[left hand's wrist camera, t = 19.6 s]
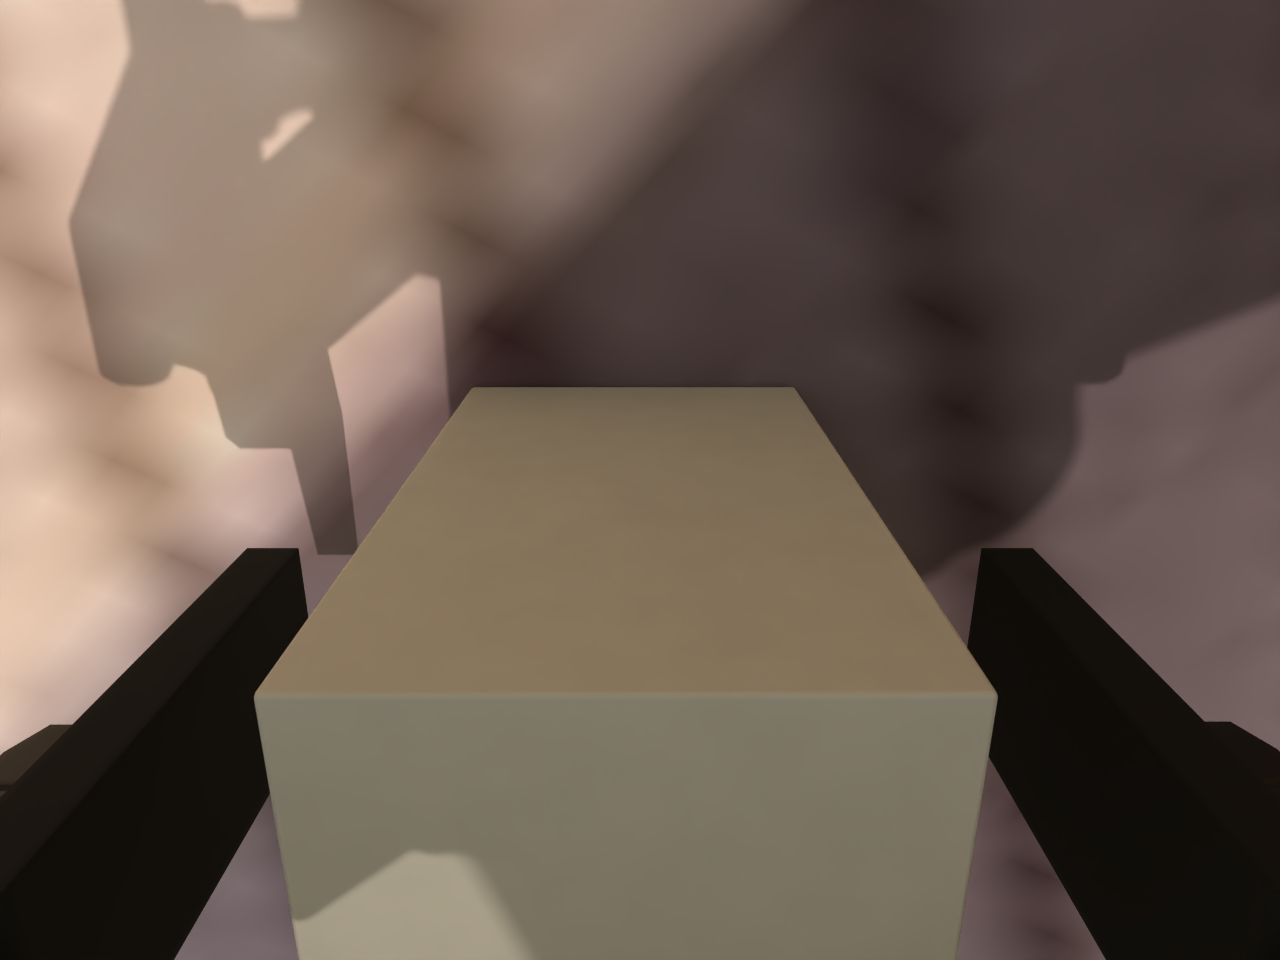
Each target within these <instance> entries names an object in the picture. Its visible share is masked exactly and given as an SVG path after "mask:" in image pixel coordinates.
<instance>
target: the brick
mask: <svg viewBox="0 0 1280 960" xmlns="http://www.w3.org/2000/svg"><path fill="white" fill-rule="evenodd" d="M997 700H998V696H997V692H996V691H995V689H994V688H993V686H992V685H991V683H990V682H989V680H988V679H987V677H986V676H985V674H984V673H983V671H982V670H981V668H980V667H979V665H978V664H977V662H976V661H975V659H974V658H973V656H972V655H971V653H970V652H969V650H968V649H967V647H966V645H965V644H964V642H963V641H962V639H961V638H960V636H959V635H958V633H957V632H956V630H955V629H954V627H953V626H952V624H951V623H950V621H949V620H948V618H947V617H946V615H945V614H944V612H943V611H942V609H941V608H940V606H939V605H938V603H937V602H936V600H935V599H934V597H933V596H932V594H931V593H930V591H929V590H928V588H927V587H926V585H925V584H924V582H923V581H922V579H921V578H920V576H919V575H918V573H917V572H916V570H915V569H914V567H913V566H912V564H911V563H910V561H909V560H908V558H907V557H906V555H905V554H904V552H903V551H902V549H901V548H900V546H899V545H898V543H897V542H896V540H895V538H894V537H893V535H892V534H891V532H890V531H889V529H888V528H887V526H886V525H885V523H884V522H883V520H882V519H881V517H880V516H879V514H878V513H877V511H876V510H875V508H874V507H873V505H872V504H871V502H870V501H869V499H868V498H867V496H866V495H865V493H864V492H863V490H862V489H861V487H860V486H859V484H858V483H857V481H856V480H855V478H854V477H853V475H852V474H851V472H850V471H849V469H848V468H847V466H846V465H845V463H844V462H843V460H842V459H841V457H840V456H839V454H838V453H837V451H836V450H835V448H834V447H833V445H832V444H831V442H830V441H829V439H828V438H827V436H826V435H825V433H824V432H823V430H822V428H821V427H820V425H819V424H818V422H817V421H816V419H815V418H814V416H813V415H812V413H811V412H810V410H809V409H808V407H807V406H806V404H805V403H804V401H803V400H802V398H801V397H800V395H799V394H798V392H797V391H796V389H795V388H793V387H473V388H472V389H471V390H470V391H469V393H468V394H467V396H466V397H465V398H464V400H463V401H462V403H461V404H460V405H459V407H458V408H457V410H456V411H455V413H454V414H453V415H452V417H451V418H450V420H449V421H448V422H447V424H446V425H445V427H444V428H443V429H442V431H441V432H440V434H439V435H438V436H437V438H436V439H435V441H434V442H433V443H432V445H431V446H430V448H429V449H428V450H427V452H426V453H425V455H424V456H423V457H422V459H421V460H420V462H419V463H418V465H417V466H416V467H415V469H414V470H413V472H412V473H411V474H410V476H409V477H408V479H407V480H406V481H405V483H404V484H403V486H402V487H401V488H400V490H399V491H398V493H397V494H396V495H395V497H394V498H393V500H392V501H391V502H390V504H389V505H388V507H387V508H386V510H385V511H384V512H383V514H382V515H381V517H380V518H379V519H378V521H377V522H376V524H375V525H374V526H373V528H372V529H371V531H370V532H369V533H368V535H367V536H366V538H365V539H364V540H363V542H362V543H361V545H360V546H359V547H358V549H357V550H356V552H355V553H354V554H353V556H352V557H351V559H350V560H349V562H348V563H347V564H346V566H345V567H344V569H343V570H342V571H341V573H340V574H339V576H338V577H337V578H336V580H335V581H334V583H333V584H332V585H331V587H330V588H329V590H328V591H327V592H326V594H325V595H324V597H323V598H322V599H321V601H320V602H319V604H318V605H317V606H316V608H315V609H314V611H313V612H312V614H311V615H310V616H309V618H308V619H307V621H306V622H305V623H304V625H303V626H302V628H301V629H300V630H299V632H298V633H297V635H296V636H295V637H294V639H293V640H292V642H291V643H290V644H289V646H288V647H287V649H286V650H285V651H284V653H283V654H282V656H281V657H280V659H279V660H278V661H277V663H276V664H275V666H274V667H273V668H272V670H271V671H270V673H269V674H268V675H267V677H266V678H265V680H264V681H263V682H262V684H261V685H260V687H259V688H258V689H257V691H256V692H255V695H254V702H255V708H256V714H257V720H258V725H259V731H260V737H261V743H262V749H263V754H264V760H265V766H266V772H267V778H268V783H269V789H270V795H271V801H272V807H273V812H274V818H275V824H276V830H277V836H278V841H279V847H280V853H281V859H282V865H283V870H284V876H285V882H286V888H287V894H288V900H289V905H290V911H291V917H292V923H293V929H294V934H295V940H296V946H297V952H298V958H299V960H956V956H957V950H958V944H959V938H960V931H961V925H962V919H963V912H964V906H965V900H966V894H967V887H968V881H969V875H970V869H971V862H972V856H973V850H974V844H975V837H976V831H977V825H978V819H979V812H980V806H981V800H982V793H983V787H984V781H985V775H986V768H987V762H988V756H989V750H990V743H991V737H992V731H993V725H994V718H995V712H996V706H997Z"/></svg>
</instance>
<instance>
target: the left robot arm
mask: <svg viewBox="0 0 1280 960" xmlns="http://www.w3.org/2000/svg"><path fill="white" fill-rule="evenodd" d="M307 619H308V612H307V605H306V598H305V591H304V584H303V577H302V570H301V563H300V556H299V549H298V548H247V549H246V550H245V551H244V552H243V553H242V554H241V555H240V556H239V557H238V558H237V559H236V560H235V561H234V562H233V563H232V564H231V565H230V566H229V567H228V568H227V569H226V570H225V571H224V572H223V573H222V574H221V575H220V576H219V577H218V578H217V579H216V580H215V581H214V582H213V583H212V584H211V585H210V586H209V587H208V588H207V589H206V590H205V591H204V592H203V594H202V595H201V596H200V597H199V598H198V599H197V600H196V601H195V602H194V603H193V604H192V605H191V606H190V607H189V608H188V609H187V610H186V611H185V612H184V613H183V614H182V615H181V616H180V617H179V618H178V619H177V620H176V621H175V622H174V623H173V624H172V625H171V626H170V627H169V628H168V629H167V630H166V631H165V632H164V633H163V634H162V635H161V636H160V637H159V638H158V639H157V640H156V641H155V642H154V643H153V644H152V645H151V646H150V647H149V648H148V649H147V650H146V651H145V652H144V653H143V654H142V655H141V656H140V657H139V658H138V659H137V660H136V661H135V662H134V663H133V664H132V665H131V666H130V667H129V668H128V669H127V670H126V671H125V672H124V673H123V674H122V675H121V676H120V677H119V678H118V679H117V680H116V681H115V682H114V683H113V684H112V685H111V686H110V687H109V688H108V689H107V690H106V691H105V692H104V693H103V694H102V695H101V696H100V697H99V698H98V699H97V700H96V701H95V702H94V703H93V704H92V705H91V706H90V707H89V708H88V709H87V710H86V711H85V712H84V713H83V714H82V716H81V717H80V718H79V719H78V720H77V721H76V722H75V723H74V724H73V725H49V726H47V727H46V728H44V729H42V730H41V731H39V732H37V733H36V734H34V735H32V736H30V737H29V738H27V739H25V740H24V741H22V742H20V743H19V744H17V745H15V746H14V747H12V748H10V749H8V750H7V751H5V752H3V753H2V754H1V755H0V960H174V959H175V957H176V955H177V954H178V952H179V950H180V948H181V947H182V945H183V943H184V941H185V940H186V938H187V936H188V934H189V933H190V931H191V929H192V928H193V926H194V924H195V922H196V921H197V919H198V917H199V915H200V914H201V912H202V910H203V908H204V907H205V905H206V903H207V902H208V900H209V898H210V896H211V895H212V893H213V891H214V889H215V888H216V886H217V884H218V883H219V881H220V879H221V877H222V876H223V874H224V872H225V870H226V869H227V867H228V865H229V863H230V862H231V860H232V858H233V857H234V855H235V853H236V851H237V850H238V848H239V846H240V844H241V843H242V841H243V839H244V837H245V836H246V834H247V832H248V831H249V829H250V827H251V825H252V824H253V822H254V820H255V818H256V817H257V815H258V813H259V811H260V810H261V808H262V806H263V805H264V803H265V801H266V799H267V798H268V796H269V794H270V789H269V783H268V778H267V772H266V766H265V760H264V754H263V749H262V743H261V737H260V731H259V725H258V720H257V714H256V708H255V702H254V695H255V692H256V691H257V689H258V688H259V687H260V685H261V684H262V682H263V681H264V680H265V678H266V677H267V675H268V674H269V673H270V671H271V670H272V668H273V667H274V666H275V664H276V663H277V661H278V660H279V659H280V657H281V656H282V654H283V653H284V651H285V650H286V649H287V647H288V646H289V644H290V643H291V642H292V640H293V639H294V637H295V636H296V635H297V633H298V632H299V630H300V629H301V628H302V626H303V625H304V623H305V622H306V621H307ZM967 649H968V650H969V652H970V653H971V655H972V656H973V658H974V659H975V661H976V662H977V664H978V665H979V667H980V668H981V670H982V671H983V673H984V674H985V676H986V677H987V679H988V680H989V682H990V683H991V685H992V686H993V688H994V689H995V691H996V692H997V696H998V700H997V706H996V712H995V718H994V725H993V731H992V737H991V743H990V750H989V758H990V760H991V761H992V763H993V765H994V766H995V768H996V770H997V772H998V773H999V775H1000V777H1001V779H1002V780H1003V782H1004V784H1005V786H1006V787H1007V789H1008V791H1009V792H1010V794H1011V796H1012V798H1013V799H1014V801H1015V803H1016V805H1017V806H1018V808H1019V810H1020V812H1021V813H1022V815H1023V817H1024V818H1025V820H1026V822H1027V824H1028V825H1029V827H1030V829H1031V831H1032V832H1033V834H1034V836H1035V838H1036V839H1037V841H1038V843H1039V844H1040V846H1041V848H1042V850H1043V851H1044V853H1045V855H1046V857H1047V858H1048V860H1049V862H1050V863H1051V865H1052V867H1053V869H1054V870H1055V872H1056V874H1057V876H1058V877H1059V879H1060V881H1061V883H1062V884H1063V886H1064V888H1065V889H1066V891H1067V893H1068V895H1069V896H1070V898H1071V900H1072V902H1073V903H1074V905H1075V907H1076V909H1077V910H1078V912H1079V914H1080V915H1081V917H1082V919H1083V921H1084V922H1085V924H1086V926H1087V928H1088V929H1089V931H1090V933H1091V935H1092V936H1093V938H1094V940H1095V941H1096V943H1097V945H1098V947H1099V948H1100V950H1101V952H1102V954H1103V955H1104V957H1105V959H1106V960H1280V751H1279V750H1277V749H1276V748H1274V747H1273V746H1271V745H1269V744H1267V743H1266V742H1264V741H1262V740H1261V739H1259V738H1257V737H1255V736H1254V735H1252V734H1250V733H1249V732H1247V731H1245V730H1244V729H1242V728H1240V727H1238V726H1237V725H1235V724H1233V723H1232V722H1204V721H1203V720H1202V719H1201V718H1200V717H1199V716H1198V715H1197V714H1196V713H1195V711H1194V710H1193V709H1192V708H1191V707H1190V706H1189V705H1188V704H1187V703H1186V702H1185V701H1184V700H1183V699H1182V698H1181V697H1180V696H1179V695H1178V694H1177V693H1176V692H1175V691H1174V690H1173V689H1172V688H1171V687H1170V686H1169V685H1168V684H1167V683H1166V682H1165V681H1164V680H1163V679H1162V678H1161V677H1160V676H1159V675H1158V674H1157V673H1156V672H1155V671H1154V670H1153V669H1152V668H1151V667H1150V666H1149V665H1148V664H1147V663H1146V662H1145V661H1144V660H1143V659H1142V658H1141V657H1140V656H1139V655H1138V654H1137V653H1136V652H1135V651H1134V650H1133V649H1132V648H1131V647H1130V646H1129V645H1128V644H1127V643H1126V642H1125V641H1124V640H1123V639H1122V638H1121V637H1120V636H1119V635H1118V634H1117V633H1116V632H1115V631H1114V630H1113V629H1112V628H1111V627H1110V626H1109V625H1108V624H1107V623H1106V622H1105V621H1104V620H1103V619H1102V618H1101V617H1100V616H1099V615H1098V614H1097V613H1096V612H1095V611H1094V610H1093V609H1092V608H1091V607H1090V606H1089V605H1088V604H1087V603H1086V602H1085V601H1084V600H1083V599H1082V598H1081V597H1080V596H1079V595H1078V594H1077V593H1076V592H1075V591H1074V589H1073V588H1072V587H1071V586H1070V585H1069V584H1068V583H1067V582H1066V581H1065V580H1064V579H1063V578H1062V577H1061V576H1060V575H1059V574H1058V573H1057V572H1056V571H1055V570H1054V569H1053V568H1052V567H1051V566H1050V565H1049V564H1048V563H1047V562H1046V561H1045V560H1044V559H1043V558H1042V557H1041V556H1040V555H1039V554H1038V553H1037V552H1036V551H1035V550H1034V549H1033V548H982V549H981V556H980V563H979V570H978V577H977V584H976V591H975V598H974V605H973V612H972V619H971V626H970V633H969V639H968V646H967Z"/></svg>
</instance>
